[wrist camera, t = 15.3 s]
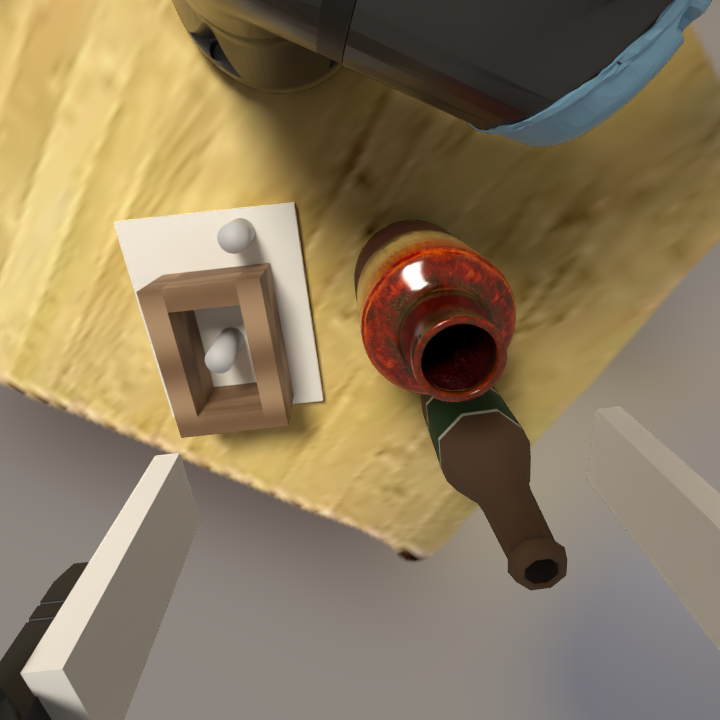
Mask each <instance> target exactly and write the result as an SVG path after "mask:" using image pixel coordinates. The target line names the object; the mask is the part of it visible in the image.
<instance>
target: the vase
mask: <svg viewBox="0 0 720 720" xmlns="http://www.w3.org/2000/svg"><path fill="white" fill-rule="evenodd" d="M355 291H356V299H357V307H358V314H359V322H360V329H361V335H362V341H363V344H364V347H365V350H366V353H367V355H368V357H369V359H370V361H371V362H372V364H373V365H374V366H375V368H376V369H377V370H378V372H379V373H380V374H382V375H383V376H384V377H385V378H386V379H387V380H389V381H390V382H392V383H393V384H395V385H396V386H398V387H401V388H403V389H405V390H408V391H411V392H415V393H420V394H429V395H431V396H432V397H434V398H436V399H439V400H442V401H446V402H464V401H468V400H472V399H474V398H477V397H479V396H481V395H482V394H484V393H486V392H487V391H488V390H489V389H491V388H492V387H493V386H494V385H495V384H496V382H497V381H498V380H499V378H500V377H501V375H502V373H503V371H504V368H505V365H506V359H507V349H508V347H509V345H510V343H511V340H512V337H513V333H514V329H515V323H516V307H515V301H514V296H513V293H512V291H511V288H510V286H509V284H508V282H507V280H506V279H505V277H504V275H503V274H502V273H501V272H500V270H499V269H498V268H497V267H496V266H495V265H494V264H493V263H491V262H490V261H489V260H488V259H486V258H485V257H484V256H482V255H481V254H480V253H478V252H477V251H475V250H474V249H472V248H471V247H469V246H468V245H466V244H465V243H463V242H462V241H460V240H459V239H457V238H456V237H454V236H453V235H451V234H450V233H448V232H447V231H445V230H444V229H442V228H440V227H438V226H437V225H435V224H432V223H429V222H426V221H420V220H406V221H400V222H397V223H394V224H391V225H389V226H387V227H385V228H383V229H381V230H380V231H379V232H377V233H376V234H375V235H374V236H373V237H372V238H371V239H370V240H369V241H368V242H367V243H366V245H365V246H364V248H363V249H362V251H361V253H360V255H359V257H358V260H357V263H356V268H355Z"/></svg>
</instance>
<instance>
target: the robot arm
mask: <svg viewBox="0 0 720 720" xmlns="http://www.w3.org/2000/svg"><path fill="white" fill-rule="evenodd" d="M172 1H173V3H174V6H175V8H176V11H177V13H178V15H179V17H180V19H181V21H182V23H183V25H184V27H185V28H186V30H187V32H188V34H189V35H190V37H191V38H192V39H193V41H194V42H195V44H196V45H197V46H198V48H199V49H200V50H201V51H202V52H203V53H204V54H205V56H206V57H207V58H208V59H209V60H210V61H211V62H213V63H214V64H215V65H216V66H217V67H218V68H220V69H221V70H222V71H224V72H225V73H226V74H228V75H229V76H230V77H232V78H233V79H235V80H237V81H238V82H240V83H242V84H244V85H246V86H249V87H251V88H254V89H257V90H261V91H265V92H270V93H293V92H299V91H303V90H306V89H309V88H312V87H314V86H316V85H318V84H320V83H322V82H324V81H325V80H327V79H328V78H330V77H331V76H332V75H333V74H335V73H336V72H337V71H338V70H339V69H340V68H341V67H342V66H345V67H347V68H349V69H351V70H354V71H356V72H358V73H360V74H362V75H365V76H367V77H369V78H371V79H373V80H376V81H378V82H380V83H382V84H384V85H387V86H389V87H391V88H393V89H395V90H398V91H400V92H402V93H404V94H406V95H409V96H411V97H413V98H415V99H418V100H420V101H422V102H424V103H426V104H429V105H431V106H433V107H435V108H437V109H440V110H442V111H444V112H446V113H448V114H451V115H453V116H455V117H457V118H459V119H462V120H464V121H466V122H467V124H468V125H470V126H471V127H472V128H474V129H476V130H477V131H479V132H486V133H487V134H499V135H502V136H504V137H507V138H509V139H512V140H514V141H517V142H520V143H522V144H525V145H529V146H537V147H546V146H553V145H558V144H561V143H564V142H567V141H570V140H572V139H575V138H577V137H579V136H581V135H583V134H585V133H587V132H588V131H590V130H592V129H593V128H595V127H596V126H598V125H599V124H601V123H602V122H604V121H605V120H606V119H608V118H609V117H611V116H612V115H613V114H614V113H616V112H617V111H618V110H619V109H621V108H622V107H623V106H624V105H625V104H627V103H628V102H629V101H630V100H631V99H632V98H633V97H634V96H635V95H636V94H638V93H639V92H640V91H641V90H642V89H643V88H644V87H645V86H646V85H647V84H648V83H649V82H650V81H651V80H652V79H653V78H654V77H655V75H656V74H657V73H658V72H659V71H660V70H661V69H662V68H663V67H664V65H665V64H666V63H667V62H668V61H669V60H670V58H671V57H672V56H673V55H674V53H675V52H676V51H677V50H678V48H679V47H680V46H681V45H682V43H683V42H684V36H683V35H682V32H683V30H684V29H685V28H686V27H687V26H688V25H689V24H690V23H691V22H692V21H693V20H695V19H696V18H698V17H699V16H701V15H702V14H703V13H705V11H706V10H707V8H708V6H709V5H710V3H711V2H712V0H172ZM587 480H588V482H589V483H590V484H591V486H592V487H593V488H594V489H595V491H596V492H597V493H598V494H599V496H600V497H601V498H602V500H603V501H604V502H605V504H606V505H607V506H608V508H609V509H610V510H611V511H612V513H613V514H614V515H615V516H616V518H617V519H618V520H619V522H620V523H621V524H622V526H623V527H624V528H625V530H626V531H627V532H628V533H629V535H630V536H631V537H632V538H633V540H634V541H635V542H636V544H637V545H638V546H639V548H640V549H641V550H642V551H643V553H644V554H645V555H646V556H647V558H648V559H649V561H650V562H651V563H652V564H653V566H654V567H655V568H656V570H657V571H658V572H659V573H660V575H661V576H662V577H663V579H664V580H665V581H666V583H667V584H668V585H669V586H670V588H671V589H672V590H673V591H674V593H675V594H676V595H677V597H678V598H679V599H680V601H681V602H682V603H683V604H684V606H685V607H686V608H687V610H688V611H689V612H690V613H691V615H692V616H693V617H694V619H695V620H696V621H697V622H698V624H699V625H700V626H701V628H702V629H703V630H704V632H705V633H706V634H707V635H708V637H709V638H710V639H711V641H712V642H713V643H714V645H715V646H716V647H717V648H718V650H719V651H720V494H719V493H718V492H717V491H716V490H715V489H714V488H713V487H712V486H710V485H709V484H708V483H707V482H706V481H705V480H704V479H703V478H701V477H700V476H699V475H698V474H697V473H695V472H694V471H693V470H692V469H691V468H690V467H689V466H688V465H687V464H685V463H684V462H683V461H682V460H681V459H680V458H679V457H678V456H676V455H675V454H674V453H673V452H672V451H671V450H670V449H668V448H667V447H666V446H665V445H664V444H663V443H661V442H660V441H659V440H658V439H657V438H656V437H655V436H653V435H652V434H651V433H650V432H649V431H648V430H647V429H646V428H644V427H643V426H642V425H641V424H640V423H639V422H637V421H636V420H635V419H634V418H633V417H632V416H631V415H630V414H629V413H627V412H626V411H625V410H624V409H623V408H622V407H620V406H616V407H607V408H598V409H596V412H595V419H594V427H593V436H592V442H591V451H590V458H589V466H588V474H587ZM199 523H200V517H199V514H198V511H197V508H196V505H195V501H194V498H193V495H192V492H191V489H190V485H189V482H188V479H187V476H186V473H185V469H184V466H183V463H182V460H181V456H180V453H176V454H167V455H158V456H155V457H154V459H153V460H152V462H151V463H150V465H149V467H148V468H147V470H146V471H145V473H144V475H143V476H142V478H141V480H140V481H139V483H138V484H137V486H136V488H135V489H134V491H133V492H132V494H131V496H130V497H129V499H128V500H127V502H126V504H125V505H124V507H123V509H122V510H121V512H120V513H119V515H118V517H117V518H116V520H115V521H114V523H113V525H112V526H111V528H110V529H109V531H108V533H107V534H106V536H105V538H104V539H103V541H102V542H101V544H100V546H99V547H98V549H97V551H96V552H95V554H94V555H93V557H92V558H91V560H90V562H86V563H77V564H73V565H72V566H71V567H70V568H69V569H67V570H66V571H65V572H64V573H63V574H62V575H61V576H60V577H59V578H58V579H57V580H56V581H54V582H53V584H52V585H51V587H50V588H49V590H48V591H47V593H46V595H45V596H44V597H43V599H42V600H41V602H40V603H41V604H40V606H37V608H36V609H35V611H34V612H33V614H32V615H31V617H30V618H29V622H28V623H26V624H25V625H24V627H23V628H22V630H21V632H20V633H19V634H18V636H17V637H16V639H15V640H14V642H13V643H12V645H11V646H10V648H9V649H8V651H7V652H6V654H5V655H4V657H3V658H2V660H1V661H0V720H124V719H125V716H126V713H127V710H128V708H129V706H130V703H131V700H132V698H133V695H134V693H135V690H136V687H137V685H138V682H139V679H140V677H141V674H142V672H143V669H144V667H145V664H146V661H147V659H148V656H149V653H150V651H151V648H152V646H153V643H154V640H155V638H156V635H157V632H158V630H159V627H160V624H161V622H162V620H163V617H164V614H165V612H166V609H167V607H168V604H169V601H170V599H171V596H172V593H173V591H174V588H175V586H176V583H177V581H178V578H179V575H180V573H181V570H182V568H183V565H184V562H185V560H186V556H187V554H188V552H189V549H190V547H191V544H192V541H193V538H194V536H195V533H196V531H197V528H198V525H199Z"/></svg>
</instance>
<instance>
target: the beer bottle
mask: <svg viewBox="0 0 720 720" xmlns="http://www.w3.org/2000/svg"><path fill="white" fill-rule="evenodd" d="M421 399H422V409H423V414H424V418H425V421H426V424H427V427H428V430H429V433H430V436H431V439H432V442H433V445H434V448H435V451H436V454H437V457H438V460H439V463H440V466H441V469H442V471H443V473H444V475H445V478H446V480H447V482H449V483H450V484H451V485H452V486H453V487H454V488H455V489H456V490H457V491H459V492H460V493H462V494H463V495H465V496H467V497H468V498H470V499H471V500H473V501H474V502H476V503H478V505H479V506H480V507H481V509H482V510H483V512H484V513H485V516H486V518H487V519H488V522H489V523H490V525H491V527H492V529H493V531H494V533H495V535H496V537H497V539H498V541H499V543H500V545H501V547H502V549H503V551H504V553H505V555H506V557H507V559H508V573H509V574H510V575H511V576H512V577H513V579H514V580H515V581H516V582H517V583H519V584H521V585H522V586H524V587H526V588H528V589H529V590H537V589H544V588H551V587H552V586H554V585H555V584H556V583H557V582H559V581H560V580H561V579H562V578H563V577H565V576H566V571H567V557H566V552H565V548H564V547H563V546H561V545H560V544H558V543H557V542H555V540H554V538H553V536H552V534H551V531H550V530H549V528H548V525H547V523H546V521H545V519H544V517H543V515H542V513H541V510H540V509H539V506H538V504H537V502H536V500H535V498H534V496H533V494H532V492H531V490H530V486H529V482H530V460H531V455H530V442H529V440H528V438H527V436H526V434H525V432H524V430H523V429H522V427H521V426H520V424H519V423H518V421H517V420H516V418H515V417H514V415H513V414H512V412H511V411H510V409H509V408H508V407H507V405H506V404H505V402H504V401H503V399H502V398H501V396H500V395H499V393H498V392H497V390H496V389H495V388H494V386H493V387H492V388H491V389H489V390H488V391H487V392H486V393H484V394H482V395H481V396H479V397H477V398H474V399H472V400H468V401H464V402H446V401H442V400H439V399H436V398H434V397H432V396H431V395H429V394H421Z"/></svg>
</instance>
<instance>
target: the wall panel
mask: <svg viewBox="0 0 720 720" xmlns="http://www.w3.org/2000/svg"><path fill="white" fill-rule="evenodd" d="M113 223H114V226H115V230H116V233H117V236H118V239H119V243H120V246H121V249H122V252H123V256H124V259H125V262H126V265H127V269H128V272H129V275H130V279H131V282H132V285H133V288H134V292H135V295H136V298H137V301H138V305H139V308H140V311H141V314H142V318H143V321H144V324H145V328H146V331H147V334H148V337H149V341H150V344H151V347H152V350H153V354H154V357H155V360H156V363H157V367H158V370H159V373H160V376H161V380H162V383H163V386H164V390H165V393H166V396H167V399H168V403H169V406H170V409H171V412H172V416H173V417H175V416H174V412H173V409H172V406H171V403H170V400H169V396H168V393H167V390H166V387H165V383H164V380H163V377H162V374H161V370H160V367H159V364H158V361H157V358H156V354H155V351H154V348H153V345H152V341H151V338H150V335H149V332H148V328H147V325H146V322H145V319H144V316H143V312H142V309H141V306H140V303H139V299H138V296H137V293H136V292H137V291H139V290H140V289H142V288H143V287H145V286H146V285H148V284H149V283H151V282H152V281H154V280H155V279H157V278H158V277H160V276H161V275H165V274H174V273H183V272H192V271H201V270H210V269H219V268H228V267H237V266H246V265H255V264H264V263H270V267H271V273H272V278H273V284H274V289H275V295H276V300H277V305H278V311H279V316H280V322H281V327H282V333H283V338H284V344H285V349H286V355H287V360H288V366H289V371H290V377H291V382H292V388H293V393H294V398H293V403H292V404H298V403H307V402H317V401H323V390H322V384H321V377H320V370H319V363H318V357H317V350H316V343H315V336H314V330H313V323H312V316H311V309H310V303H309V296H308V289H307V283H306V276H305V269H304V262H303V256H302V249H301V242H300V235H299V229H298V222H297V215H296V208H295V202H287V203H278V204H269V205H259V206H250V207H241V208H231V209H222V210H213V211H203V212H194V213H185V214H176V215H166V216H157V217H148V218H138V219H129V220H120V221H115V222H113ZM194 313H195V317H196V320H197V324H198V328H199V332H200V336H201V340H202V343H203V347H204V351H205V355H206V356H205V364H206V366H207V368H208V369H209V370H210V374H211V378H212V382H213V386H214V387H219V386H228V385H237V384H246V383H255V382H257V381H256V377H255V372H254V367H253V363H252V358H251V354H250V349H249V344H248V340H247V335H246V331H245V326H244V321H243V317H242V312H241V308H240V305H233V306H224V307H215V308H206V309H197V310H194Z"/></svg>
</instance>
